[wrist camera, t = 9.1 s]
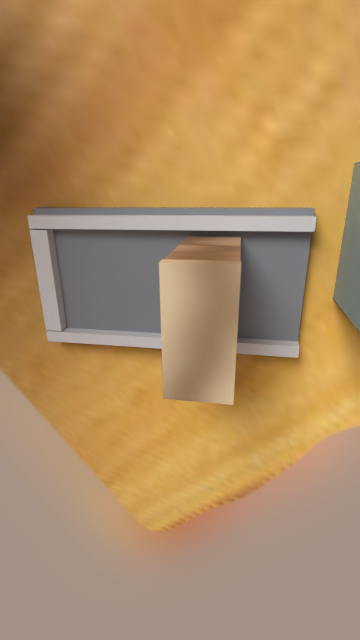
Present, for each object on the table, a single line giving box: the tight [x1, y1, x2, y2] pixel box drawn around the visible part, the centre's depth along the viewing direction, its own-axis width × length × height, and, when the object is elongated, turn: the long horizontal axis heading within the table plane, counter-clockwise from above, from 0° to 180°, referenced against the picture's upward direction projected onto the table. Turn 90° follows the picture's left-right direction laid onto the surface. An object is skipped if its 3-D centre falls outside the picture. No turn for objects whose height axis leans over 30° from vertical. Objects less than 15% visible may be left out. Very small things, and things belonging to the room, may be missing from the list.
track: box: [27, 208, 316, 358], centre depth 29 cm, size 22×12×2 cm, turn 91°
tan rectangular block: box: [159, 236, 241, 405], centre depth 23 cm, size 4×8×10 cm, turn 1°
